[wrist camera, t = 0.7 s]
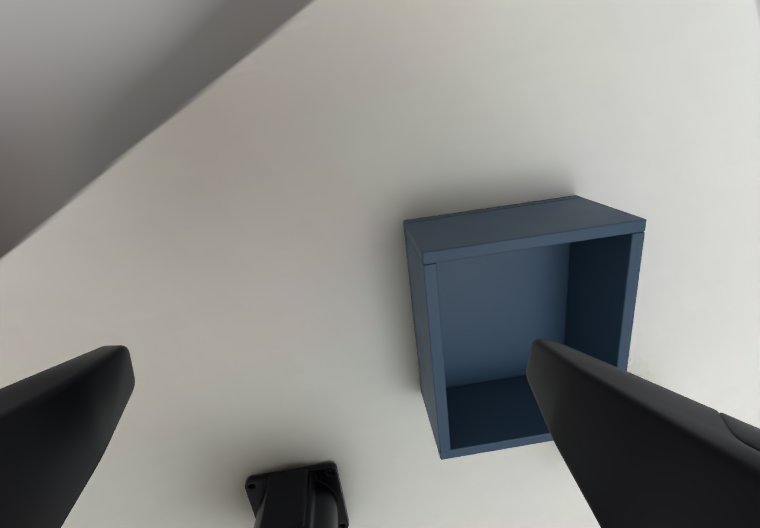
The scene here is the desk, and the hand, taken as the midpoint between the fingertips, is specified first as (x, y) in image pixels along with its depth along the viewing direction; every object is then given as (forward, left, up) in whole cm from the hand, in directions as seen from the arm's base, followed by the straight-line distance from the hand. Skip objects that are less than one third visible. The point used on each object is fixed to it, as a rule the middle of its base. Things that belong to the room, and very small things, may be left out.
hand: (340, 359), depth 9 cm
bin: (-7, -9, -14) cm, 18 cm away
